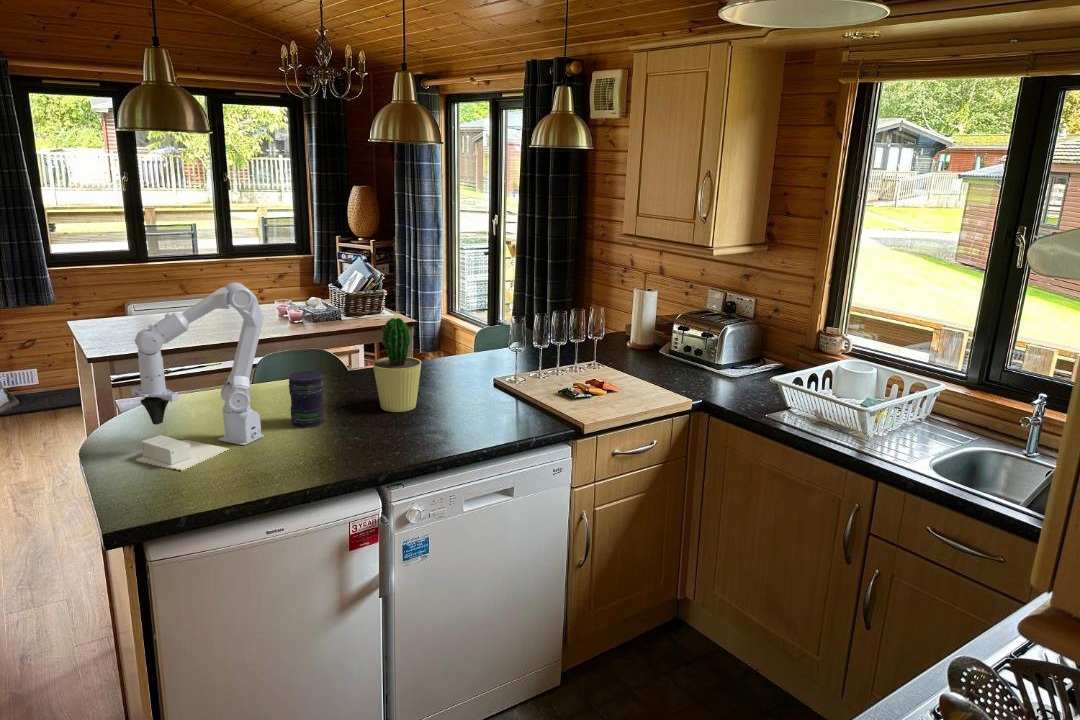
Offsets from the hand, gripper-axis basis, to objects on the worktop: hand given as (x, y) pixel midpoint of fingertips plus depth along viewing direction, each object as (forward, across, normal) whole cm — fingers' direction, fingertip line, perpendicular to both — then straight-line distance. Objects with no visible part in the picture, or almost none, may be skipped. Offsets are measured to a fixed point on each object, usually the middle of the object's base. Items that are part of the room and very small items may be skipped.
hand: (157, 423), depth 201 cm
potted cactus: (+8, +37, +60) cm, 71 cm away
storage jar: (+8, +21, +35) cm, 42 cm away
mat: (+8, +8, 0) cm, 11 cm away
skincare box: (+5, 0, -3) cm, 6 cm away
